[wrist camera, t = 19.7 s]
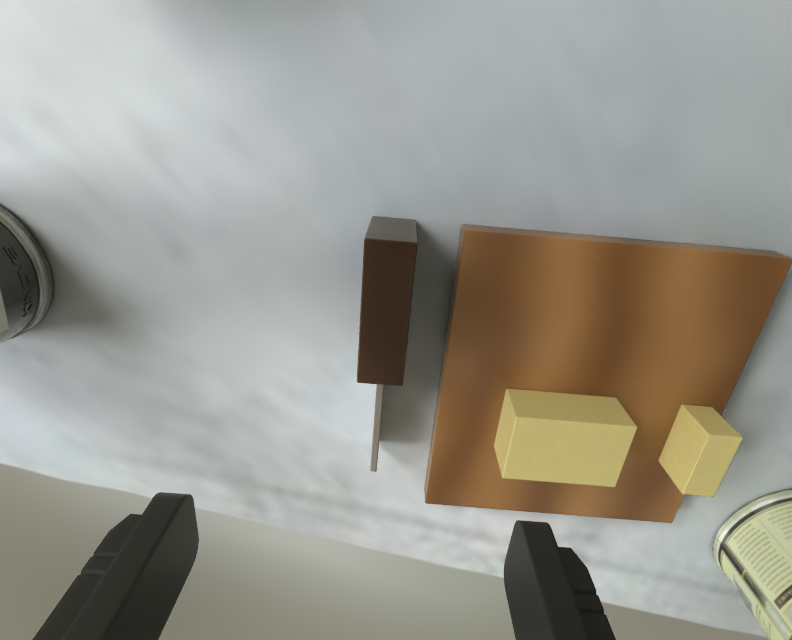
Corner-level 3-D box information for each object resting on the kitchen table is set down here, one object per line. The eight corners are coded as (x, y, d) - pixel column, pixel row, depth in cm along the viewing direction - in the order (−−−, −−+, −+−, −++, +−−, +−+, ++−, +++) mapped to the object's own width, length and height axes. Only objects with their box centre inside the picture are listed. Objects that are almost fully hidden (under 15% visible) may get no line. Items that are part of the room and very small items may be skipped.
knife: (358, 440, 33) (350, 493, 28) (372, 215, 26) (364, 238, 21) (393, 443, 33) (391, 496, 28) (415, 219, 26) (417, 242, 21)
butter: (493, 445, 31) (501, 478, 28) (505, 387, 29) (516, 417, 26) (597, 454, 31) (615, 487, 28) (616, 397, 29) (638, 427, 26)
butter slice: (657, 460, 31) (681, 494, 28) (681, 404, 29) (709, 434, 26) (687, 462, 31) (714, 497, 28) (712, 406, 29) (744, 437, 26)
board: (424, 488, 34) (425, 503, 33) (461, 223, 26) (465, 230, 25) (661, 507, 34) (671, 523, 33) (774, 251, 26) (794, 258, 25)
